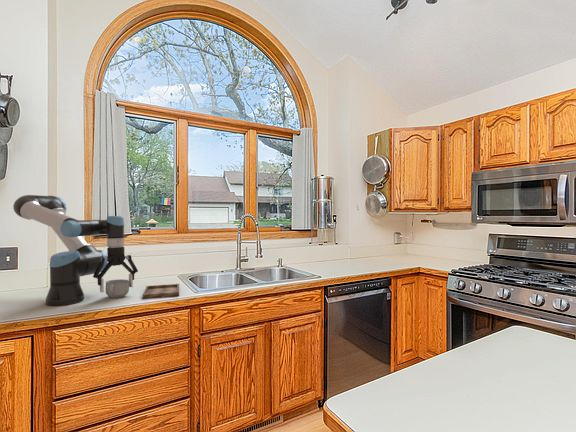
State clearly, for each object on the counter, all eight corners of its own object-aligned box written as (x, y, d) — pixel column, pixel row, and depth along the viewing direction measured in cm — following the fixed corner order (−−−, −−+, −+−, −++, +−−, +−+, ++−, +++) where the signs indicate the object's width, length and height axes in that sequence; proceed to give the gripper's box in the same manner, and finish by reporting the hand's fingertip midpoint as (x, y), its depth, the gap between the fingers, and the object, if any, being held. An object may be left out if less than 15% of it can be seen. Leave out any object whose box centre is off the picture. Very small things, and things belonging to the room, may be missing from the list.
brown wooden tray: (142, 298, 160) (142, 294, 160) (146, 289, 179) (146, 285, 179) (179, 296, 165) (179, 292, 165) (179, 287, 184) (179, 283, 184)
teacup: (113, 293, 170) (113, 278, 170) (134, 294, 169) (133, 278, 169) (96, 301, 156) (96, 284, 156) (118, 301, 155) (118, 284, 155)
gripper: (90, 249, 150) (91, 295, 151) (144, 245, 169) (145, 285, 169) (85, 248, 155) (86, 293, 156) (137, 244, 174) (138, 283, 174)
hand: (116, 289), depth 162 cm, fingers open, 13 cm apart
